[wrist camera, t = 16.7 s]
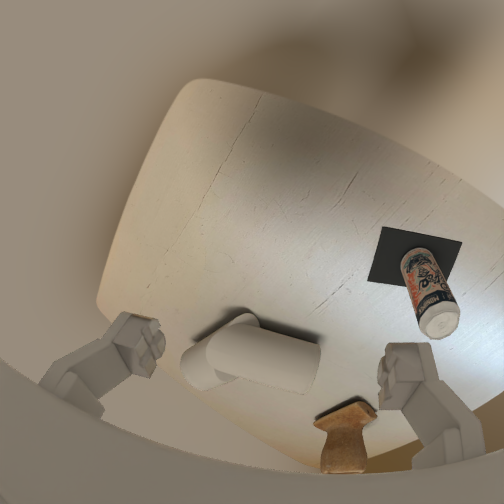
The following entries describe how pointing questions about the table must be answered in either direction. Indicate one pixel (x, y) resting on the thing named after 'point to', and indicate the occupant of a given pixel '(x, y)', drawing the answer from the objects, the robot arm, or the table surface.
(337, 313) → the table surface
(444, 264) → the mat
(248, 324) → the l-shaped cylinder
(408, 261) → the beer can
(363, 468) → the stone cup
